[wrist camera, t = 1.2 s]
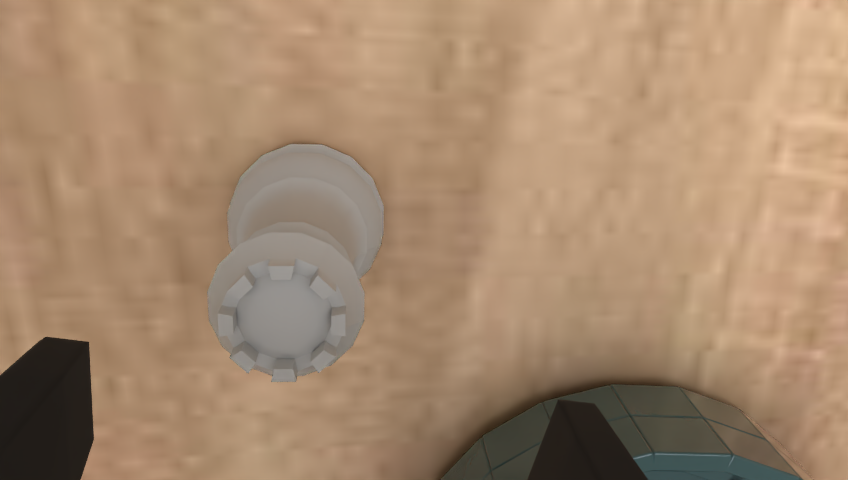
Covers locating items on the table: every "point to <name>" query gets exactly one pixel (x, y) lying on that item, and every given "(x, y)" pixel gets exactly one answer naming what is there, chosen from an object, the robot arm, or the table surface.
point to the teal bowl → (644, 438)
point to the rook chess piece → (296, 261)
